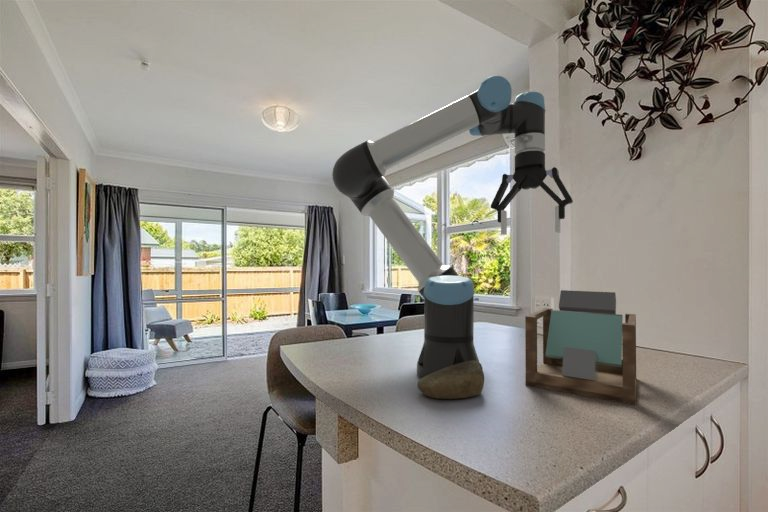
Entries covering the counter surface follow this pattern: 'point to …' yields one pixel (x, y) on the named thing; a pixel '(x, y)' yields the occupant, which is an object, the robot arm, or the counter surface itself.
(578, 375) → the gray cube
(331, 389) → the counter surface
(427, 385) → the stone
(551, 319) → the trapdoor
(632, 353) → the frame
